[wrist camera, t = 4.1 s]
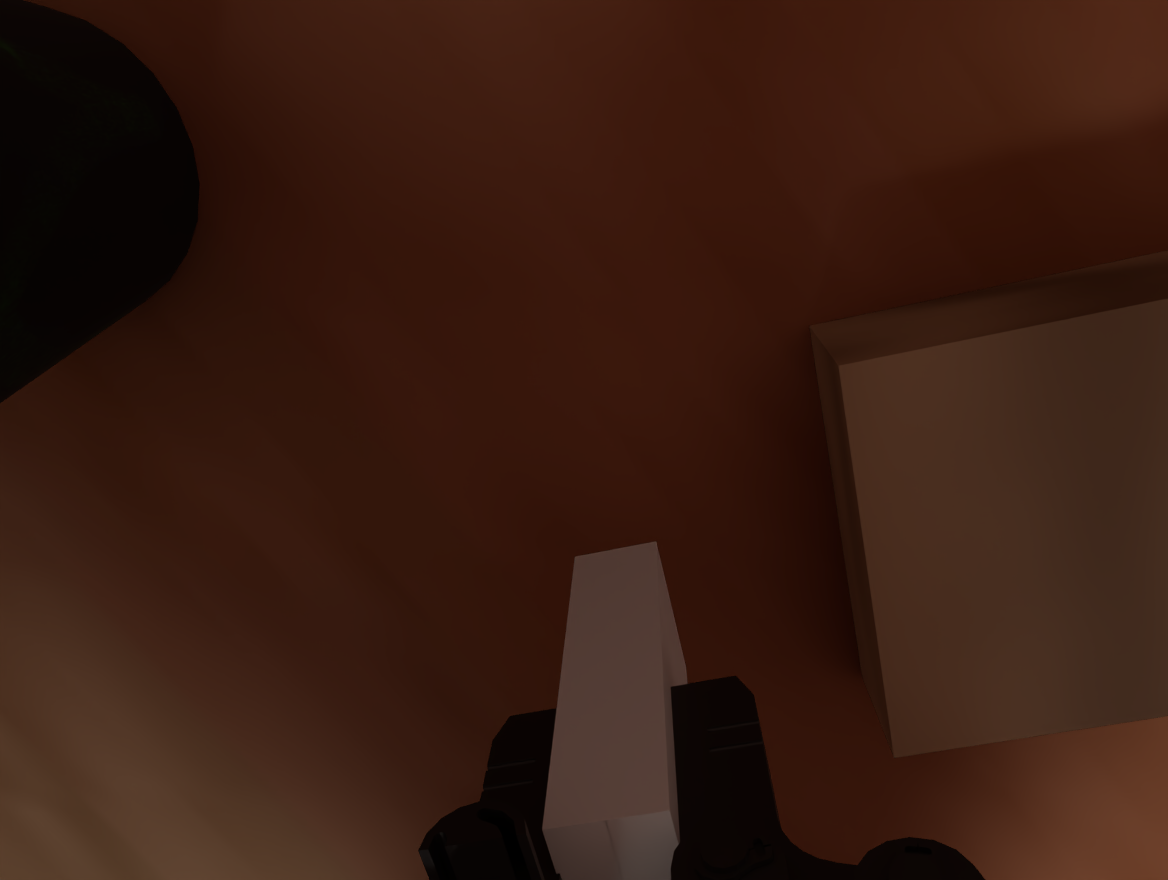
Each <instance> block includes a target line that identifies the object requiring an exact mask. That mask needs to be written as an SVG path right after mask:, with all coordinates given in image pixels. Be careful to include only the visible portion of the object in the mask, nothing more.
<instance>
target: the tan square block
mask: <svg viewBox="0 0 1168 880" xmlns="http://www.w3.org/2000/svg"><path fill="white" fill-rule="evenodd" d="M809 328H810V335H811V342H812V348H813V355H814V361H815V368H816V375H817V381H818V388H819V394H820V401H821V408H822V414H823V421H824V428H825V434H826V441H827V447H828V454H829V461H830V467H831V474H832V480H833V487H834V494H835V500H836V507H837V514H838V520H839V527H840V533H841V540H842V547H843V553H844V560H845V566H846V573H847V580H848V586H849V593H850V600H851V606H852V613H853V619H854V626H855V633H856V639H857V646H858V652H859V659H860V666H861V672H862V678H863V680H864V683H865V685H866V688H867V690H868V693H869V696H870V698H871V701H872V703H873V706H874V708H875V711H876V713H877V716H878V718H879V721H880V724H881V726H882V729H883V731H884V734H885V736H886V739H887V741H888V744H889V746H890V749H891V752H892V754H893V757H894V758H897V757H904V756H910V755H917V754H923V753H930V752H937V751H943V750H950V749H956V748H963V747H969V746H976V745H982V744H989V743H995V742H1002V741H1008V740H1015V739H1021V738H1028V737H1034V736H1041V735H1047V734H1054V733H1060V732H1067V731H1073V730H1080V729H1087V728H1093V727H1100V726H1106V725H1113V724H1119V723H1126V722H1132V721H1139V720H1145V719H1152V718H1158V717H1165V716H1168V250H1167V251H1162V252H1157V253H1153V254H1148V255H1143V256H1138V257H1134V258H1129V259H1124V260H1119V261H1115V262H1110V263H1105V264H1100V265H1096V266H1091V267H1086V268H1081V269H1077V270H1072V271H1067V272H1062V273H1058V274H1053V275H1048V276H1043V277H1039V278H1034V279H1029V280H1024V281H1020V282H1015V283H1010V284H1005V285H1001V286H996V287H991V288H986V289H982V290H977V291H972V292H968V293H963V294H958V295H953V296H949V297H944V298H939V299H934V300H930V301H925V302H920V303H915V304H911V305H906V306H901V307H896V308H892V309H887V310H882V311H877V312H873V313H868V314H863V315H858V316H854V317H849V318H844V319H839V320H835V321H830V322H825V323H820V324H816V325H811V326H809Z"/></svg>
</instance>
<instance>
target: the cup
mask: <svg viewBox="0 0 1168 880" xmlns="http://www.w3.org/2000/svg"><path fill="white" fill-rule="evenodd" d="M198 199H199V180H198V174H197V169H196V163H195V158H194V152H193V147H192V144H191V141H190V139H189V137H188V134H187V132H186V129H185V127H184V124H183V122H182V120H181V117H180V115H179V112H178V110H177V108H176V106H175V105H174V103H173V102H172V100H171V99H170V98H169V96H168V95H167V93H166V92H165V90H164V89H163V87H162V86H161V84H160V83H159V81H158V80H157V78H156V77H155V76H154V74H153V73H152V72H151V71H150V70H149V69H148V68H147V67H146V66H145V65H144V64H143V63H142V62H141V61H140V60H139V59H138V58H137V57H136V56H135V55H134V54H133V53H132V52H131V51H130V50H128V49H127V48H126V47H125V46H124V45H123V44H122V43H121V42H119V41H118V40H116V39H114V38H113V37H111V36H110V35H108V34H106V33H105V32H103V31H102V30H100V29H98V28H97V27H95V26H94V25H92V24H90V23H89V22H87V21H85V20H82V19H79V18H76V17H73V16H70V15H68V14H65V13H62V12H59V11H56V10H53V9H50V8H47V7H44V6H41V5H37V4H34V3H30V2H27V1H24V0H0V403H1V402H2V401H4V400H5V399H7V398H8V397H10V396H11V395H12V394H14V393H15V392H17V391H18V390H20V389H21V388H22V387H24V386H25V385H27V384H28V383H30V382H31V381H32V380H34V379H35V378H37V377H38V376H39V375H41V374H42V373H44V372H45V371H47V370H48V369H49V368H51V367H52V366H54V365H55V364H57V363H58V362H59V361H61V360H62V359H64V358H65V357H67V356H68V355H69V354H71V353H72V352H74V351H75V350H76V349H78V348H79V347H81V346H82V345H84V344H85V343H86V342H88V341H89V340H91V339H92V338H94V337H95V336H96V335H98V334H99V333H101V332H102V331H103V330H105V329H106V328H108V327H109V326H111V325H112V324H113V323H115V322H116V321H118V320H119V319H121V318H122V317H123V316H125V315H126V314H128V313H129V312H131V311H132V310H133V309H135V308H136V307H138V306H139V305H140V304H142V303H143V302H145V301H146V300H147V299H148V298H150V297H151V296H152V295H153V294H154V293H155V292H157V291H158V290H159V289H160V288H161V287H162V286H164V285H165V284H166V283H167V282H168V281H169V280H170V279H171V277H172V276H173V274H174V273H175V271H176V270H177V268H178V266H179V265H180V263H181V262H182V260H183V259H184V257H185V256H186V254H187V252H188V249H189V246H190V243H191V239H192V236H193V233H194V230H195V227H196V223H197V219H198Z"/></svg>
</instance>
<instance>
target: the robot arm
mask: <svg viewBox="0 0 1168 880" xmlns="http://www.w3.org/2000/svg"><path fill="white" fill-rule="evenodd" d="M487 766H488V771H486V775H485V779H484V784H483V789H484V792H482V794H481V799H480V802H476V803H473V804H470V805H466V806H463V807H460V808H458V809H457V810H455V811H453V812H452V813H450V814H448V815H447V816H445V817H443V818H442V819H440V820H439V821H438V823H437V824H436V825H435V826H434V827H433V828H432V829H431V830H430V831H429V832H428V833H427V834H426V836H425V838H424V840H423V842H422V844H421V846H420V848H419V850H418V851H419V854H420V856H421V859H422V861H423V864H424V867H425V869H426V872H427V874H428V877H429V880H985V879H984V878H983V876H982V875H981V874H980V873H979V871H978V870H977V869H976V867H975V866H974V865H973V864H972V863H971V862H970V861H968V860H967V859H966V858H965V857H964V856H963V855H962V854H961V853H959V852H958V851H957V850H956V849H953V848H951V847H949V846H946V845H944V844H942V843H939V842H937V841H935V840H929V839H920V838H912V837H908V838H902V839H897V840H891V841H886V842H884V843H883V844H881V845H879V846H877V847H875V848H874V849H872V850H870V851H868V852H867V854H866V855H865V856H864V857H863V859H862V860H861V861H860V863H859V864H858V865H851V864H843V863H836V862H832V861H827V860H823V859H819V858H816V857H814V856H812V855H810V854H808V853H806V852H803V851H802V850H801V849H799V848H798V847H797V846H796V845H794V844H793V843H792V842H791V841H790V840H789V839H788V838H787V836H786V835H785V834H784V832H783V831H782V829H781V826H780V821H779V816H778V811H777V806H776V801H775V796H774V791H773V786H772V780H771V775H770V770H769V766H768V761H767V756H766V751H765V747H764V742H763V737H762V732H761V727H760V723H759V718H758V713H757V708H756V704H755V699H754V695H753V694H752V693H751V691H750V690H749V689H748V688H747V687H746V686H745V685H744V684H743V683H742V682H741V681H740V680H739V679H738V678H737V677H736V676H731V677H725V678H719V679H713V680H707V681H701V682H696V683H690V684H688V683H687V672H686V665H685V661H684V656H683V652H682V648H681V644H680V639H679V635H678V631H677V627H676V623H675V618H674V614H673V610H672V606H671V601H670V597H669V593H668V589H667V585H666V580H665V576H664V572H663V568H662V563H661V559H660V555H659V551H658V547H657V542H656V541H655V542H650V543H644V544H639V545H634V546H628V547H623V548H618V549H613V550H607V551H602V552H597V553H592V554H586V555H581V556H576V557H575V560H574V568H573V577H572V585H571V593H570V602H569V610H568V618H567V627H566V635H565V643H564V652H563V660H562V668H561V677H560V685H559V693H558V702H557V708H555V709H549V710H543V711H537V712H532V713H526V714H520V715H514V716H510V717H509V718H508V720H507V721H506V723H505V724H504V725H503V727H502V728H501V730H500V731H499V732H498V734H497V735H496V737H495V738H494V739H493V741H492V746H491V751H490V756H489V760H488V765H487Z"/></svg>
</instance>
